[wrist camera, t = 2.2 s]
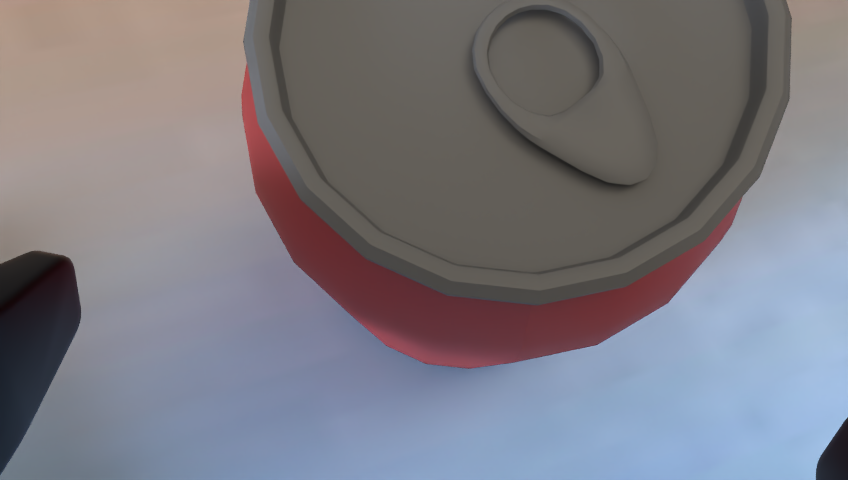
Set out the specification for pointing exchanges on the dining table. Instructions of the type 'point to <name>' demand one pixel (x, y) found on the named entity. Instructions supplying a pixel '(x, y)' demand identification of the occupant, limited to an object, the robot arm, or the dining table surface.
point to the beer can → (508, 157)
